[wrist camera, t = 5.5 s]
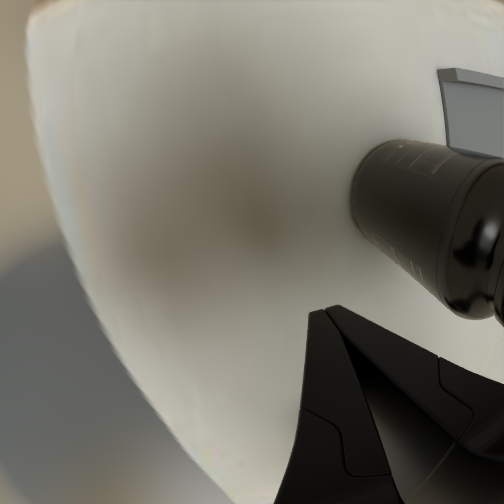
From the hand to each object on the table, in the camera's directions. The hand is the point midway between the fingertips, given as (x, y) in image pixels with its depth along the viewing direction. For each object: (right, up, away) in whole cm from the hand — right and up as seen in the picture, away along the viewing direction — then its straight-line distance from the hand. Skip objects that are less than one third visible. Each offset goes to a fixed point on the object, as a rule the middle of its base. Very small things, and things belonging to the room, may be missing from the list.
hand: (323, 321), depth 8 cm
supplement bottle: (+7, +5, +9) cm, 12 cm away
